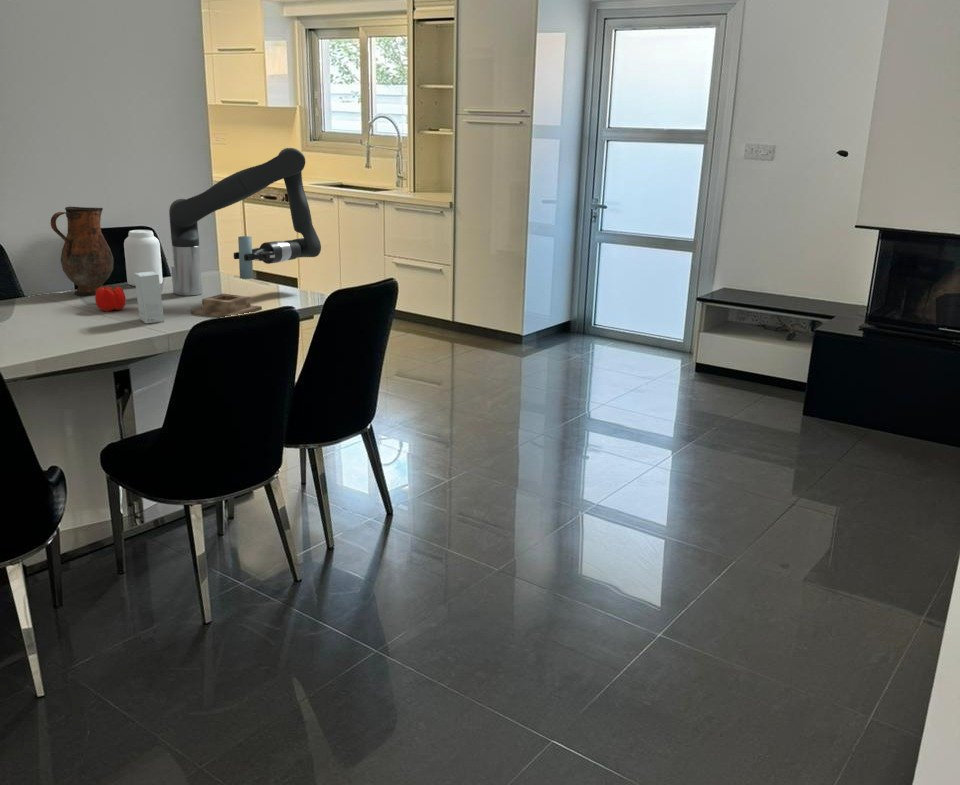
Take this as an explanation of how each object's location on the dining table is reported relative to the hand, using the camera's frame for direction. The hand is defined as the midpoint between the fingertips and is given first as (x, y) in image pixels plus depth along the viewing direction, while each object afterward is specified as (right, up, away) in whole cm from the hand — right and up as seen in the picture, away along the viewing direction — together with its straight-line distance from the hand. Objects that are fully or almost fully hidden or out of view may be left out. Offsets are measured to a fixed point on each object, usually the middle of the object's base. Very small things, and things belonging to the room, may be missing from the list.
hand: (239, 256), depth 290 cm
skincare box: (-21, -24, -24) cm, 40 cm away
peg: (+1, -7, +4) cm, 8 cm away
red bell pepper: (-38, -19, -11) cm, 45 cm away
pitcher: (-58, -11, +12) cm, 60 cm away
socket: (-2, -19, -8) cm, 21 cm away
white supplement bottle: (-45, -5, +33) cm, 56 cm away
